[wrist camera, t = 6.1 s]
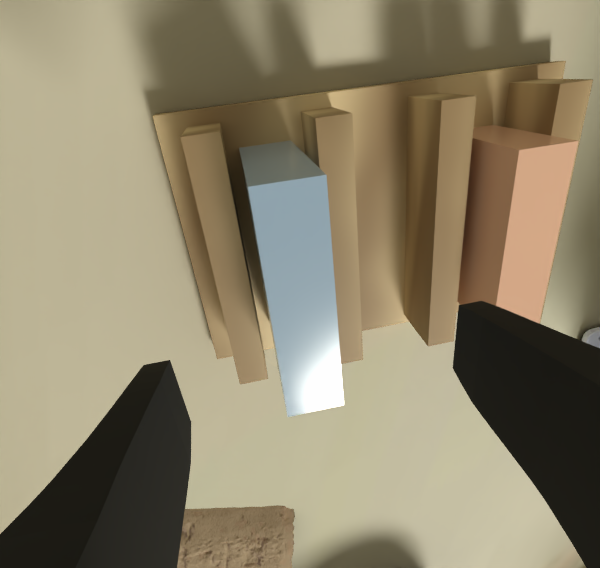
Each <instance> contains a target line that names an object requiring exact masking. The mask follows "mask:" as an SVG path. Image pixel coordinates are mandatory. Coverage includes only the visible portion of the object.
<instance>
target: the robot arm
mask: <svg viewBox="0 0 600 568" xmlns="http://www.w3.org/2000/svg"><path fill="white" fill-rule="evenodd" d="M453 369H454V371H455V373H456V375H457V377H458V378H459V380H460V382H461V384H462V386H463V387H464V389H465V391H466V393H467V394H468V396H469V398H470V399H471V401H472V403H473V404H474V405H475V407H476V408H477V409H478V411H479V412H480V414H481V415H482V416H483V418H484V419H485V420H486V422H487V423H488V424H489V426H490V427H491V428H492V430H493V431H494V432H495V433H496V435H497V436H498V437H499V439H500V440H501V441H502V443H503V444H504V445H505V447H506V448H507V449H508V451H509V452H510V453H511V454H512V456H513V457H514V458H515V460H516V461H517V462H518V464H519V465H520V466H521V468H522V469H523V470H524V471H525V473H526V474H527V475H528V477H529V478H530V479H531V481H532V482H533V484H534V485H535V486H536V488H537V489H538V491H539V492H540V493H541V495H542V496H543V498H544V499H545V501H546V502H547V504H548V505H549V507H550V509H551V510H552V512H553V513H554V515H555V517H556V518H557V520H558V521H559V523H560V525H561V526H562V528H563V529H564V531H565V533H566V534H567V536H568V537H569V539H570V541H571V542H572V544H573V545H574V547H575V549H576V551H577V552H578V554H579V556H580V557H581V559H582V561H583V562H584V564H585V566H586V567H587V568H600V327H598V328H593V329H590V330H588V331H586V332H585V333H584V335H583V338H582V341H580V340H577V339H575V338H573V337H570V336H568V335H565V334H563V333H560V332H558V331H556V330H553V329H551V328H548V327H546V326H544V325H541V324H539V323H537V322H534V321H532V320H529V319H527V318H525V317H522V316H520V315H518V314H515V313H513V312H510V311H508V310H506V309H503V308H501V307H498V306H495V305H493V304H490V303H487V302H484V301H477V302H472V303H467V304H462V305H459V308H458V319H457V330H456V340H455V351H454V361H453ZM190 464H191V421H190V418H189V415H188V412H187V409H186V406H185V403H184V400H183V397H182V394H181V391H180V388H179V385H178V382H177V379H176V376H175V374H174V371H173V368H172V365H171V362H170V360H168V361H163V362H158V363H153V364H147V365H144V366H143V367H142V368H141V369H140V371H139V372H138V373H137V375H136V376H135V377H134V378H133V380H132V381H131V382H130V384H129V385H128V386H127V388H126V389H125V390H124V392H123V393H122V394H121V396H120V397H119V398H118V400H117V401H116V402H115V404H114V405H113V406H112V408H111V409H110V410H109V412H108V413H107V414H106V416H105V417H104V418H103V419H102V421H101V422H100V423H99V425H98V426H97V427H96V428H95V430H94V431H93V432H92V433H91V435H90V436H89V437H88V439H87V440H86V441H85V442H84V443H83V444H82V446H81V447H80V448H79V449H78V450H77V452H76V453H75V454H74V455H73V456H72V457H71V459H70V460H69V461H68V462H67V463H66V464H65V466H64V467H63V468H62V469H61V470H60V472H59V473H58V474H57V475H56V476H55V477H54V479H53V480H52V481H51V482H50V483H49V484H48V485H47V486H46V487H45V489H44V490H43V491H42V492H41V493H40V494H39V495H38V496H37V497H36V498H35V499H34V500H33V501H32V502H31V504H30V505H29V506H28V507H27V508H26V509H25V510H24V511H23V512H22V513H21V514H20V515H19V516H18V517H17V518H16V519H15V520H14V521H13V522H12V523H11V524H10V525H9V526H8V527H7V528H6V529H5V530H4V531H3V532H2V533H1V534H0V568H177V564H178V557H179V549H180V542H181V534H182V526H183V519H184V511H185V504H186V496H187V488H188V481H189V473H190Z"/></svg>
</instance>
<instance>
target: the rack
mask: <svg viewBox="0 0 600 568" xmlns="http://www.w3.org/2000/svg"><path fill="white" fill-rule="evenodd" d="M565 63H566V61H555V62H545V63H537V64H530V65H522V66H515V67H507V68H500V69H492V70H484V71H477V72H469V73H462V74H454V75H447V76H439V77H432V78H424V79H417V80H409V81H402V82H394V83H387V84H379V85H372V86H364V87H357V88H349V89H342V90H334V91H327V92H319V93H312V94H304V95H296V96H289V97H281V98H274V99H266V100H259V101H251V102H244V103H236V104H229V105H221V106H214V107H206V108H199V109H191V110H184V111H176V112H169V113H161V114H155V115H154V116H153V120H154V124H155V128H156V131H157V135H158V139H159V143H160V146H161V150H162V154H163V158H164V161H165V165H166V169H167V173H168V176H169V180H170V184H171V188H172V191H173V195H174V199H175V203H176V206H177V210H178V214H179V218H180V221H181V225H182V229H183V233H184V236H185V240H186V244H187V248H188V251H189V255H190V259H191V263H192V266H193V270H194V274H195V278H196V281H197V285H198V289H199V293H200V296H201V300H202V304H203V308H204V311H205V315H206V319H207V322H208V326H209V330H210V334H211V337H212V341H213V345H214V349H215V352H216V356H217V359H220V358H225V357H230V356H233V357H234V361H235V365H236V369H237V374H238V378H239V382H240V384H245V383H250V382H255V381H260V380H264V379H268V375H267V368H266V362H265V355H264V350H266V349H271V348H274V343H273V337H272V332H271V327H270V322H269V316H268V310H267V305H266V299H265V293H264V288H263V282H262V276H261V271H260V265H259V259H258V254H257V248H256V242H255V237H254V231H253V225H252V220H251V214H250V208H249V203H248V197H247V191H246V186H245V180H244V174H243V168H242V163H241V157H240V151H239V148H241V147H248V146H255V145H262V144H269V143H276V142H283V141H290V140H291V141H292V142H293V143H294V144H295V145H296V146H297V147H298V148H299V149H300V150H301V151H302V152H303V153H304V154H305V155H306V156H308V157H309V158H310V159H311V160H312V161H313V162H314V163H315V164H316V165H317V166H318V167H319V168H320V169H321V170H322V171H323V172H324V173H325V174H326V175H327V188H328V201H329V214H330V227H331V240H332V253H333V266H334V279H335V292H336V305H337V318H338V331H339V344H340V357H341V364H343V363H348V362H353V361H358V360H363V347H362V331H363V330H369V329H374V328H379V327H384V326H389V325H394V324H399V323H404V322H410V323H411V324H412V326H413V327H414V328H415V330H416V331H417V332H418V334H419V335H420V336H421V338H422V339H423V340H424V342H425V343H426V344H427V345H428V346H432V345H437V344H442V343H447V342H452V341H454V331H455V321H456V312H458V308H459V305H460V304H459V303H458V302H457V299H458V288H459V278H460V267H461V256H462V246H463V235H464V224H465V214H466V203H467V192H468V181H469V171H470V160H471V149H472V139H473V128H475V127H482V126H489V125H496V126H502V127H507V128H513V129H518V130H523V131H529V132H534V133H539V134H545V135H550V136H555V137H561V138H566V139H571V140H577V141H578V146H579V142H580V137H581V132H582V128H583V123H584V119H585V114H586V109H587V105H588V100H589V96H590V91H591V86H592V82H593V80H585V79H563V73H564V68H565ZM578 146H577V151H578ZM577 151H576V155H575V160H576V156H577ZM575 160H574V165H575ZM574 165H573V169H574ZM573 169H572V174H573ZM572 174H571V179H572ZM571 179H570V183H571ZM570 183H569V188H570ZM569 188H568V192H569ZM568 192H567V197H568ZM567 197H566V202H567ZM566 202H565V206H566ZM565 206H564V211H565ZM564 211H563V215H564ZM562 220H563V216H562ZM562 220H561V225H562ZM561 225H560V229H561ZM559 234H560V230H559ZM559 234H558V238H559ZM557 243H558V239H557ZM557 243H556V248H557ZM556 248H555V252H556ZM554 257H555V253H554ZM554 257H553V262H554ZM553 262H552V266H553ZM551 271H552V267H551ZM551 271H550V275H551ZM549 280H550V276H549ZM548 285H549V281H548ZM548 285H547V289H548ZM546 294H547V290H546ZM546 294H545V298H546ZM544 303H545V299H544ZM543 308H544V304H543ZM543 308H542V312H543ZM541 317H542V313H541ZM540 321H541V318H540ZM539 324H540V322H539Z"/></svg>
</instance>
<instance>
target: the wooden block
mask: <svg viewBox="0 0 600 568" xmlns="http://www.w3.org/2000/svg"><path fill="white" fill-rule="evenodd" d="M577 146H578V141H577V140H571V139H566V138H561V137H555V136H550V135H545V134H539V133H534V132H529V131H523V130H518V129H513V128H507V127H502V126H496V125H489V126H482V127H475V128H473V139H472V149H471V160H470V171H469V181H468V192H467V203H466V214H465V224H464V235H463V246H462V256H461V267H460V278H459V288H458V299H457V302H458V303H459V304H460V305H462V304H467V303H472V302H477V301H484V302H487V303H490V304H493V305H495V306H498V307H501V308H503V309H506V310H508V311H510V312H513V313H515V314H518V315H520V316H522V317H525V318H527V319H529V320H532V321H534V322H537V323H539V322H540V318H541V313H542V308H543V304H544V299H545V294H546V290H547V285H548V281H549V276H550V271H551V267H552V262H553V257H554V253H555V248H556V243H557V239H558V234H559V230H560V225H561V220H562V216H563V211H564V206H565V202H566V197H567V192H568V188H569V183H570V179H571V174H572V169H573V165H574V160H575V155H576V151H577Z"/></svg>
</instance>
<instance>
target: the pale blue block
mask: <svg viewBox="0 0 600 568" xmlns="http://www.w3.org/2000/svg"><path fill="white" fill-rule="evenodd" d="M239 151H240V157H241V163H242V168H243V174H244V180H245V186H246V191H247V197H248V203H249V208H250V214H251V220H252V225H253V231H254V237H255V242H256V248H257V254H258V259H259V265H260V271H261V276H262V282H263V288H264V293H265V299H266V305H267V310H268V316H269V322H270V327H271V332H272V337H273V343H274V348H275V353H276V358H277V364H278V369H279V374H280V379H281V384H282V390H283V395H284V400H285V405H286V411H287V416H288V417H290V416H295V415H300V414H305V413H309V412H314V411H319V410H323V409H328V408H333V407H337V406H342V405H344V396H343V383H342V370H341V357H340V344H339V331H338V318H337V305H336V292H335V279H334V266H333V253H332V240H331V227H330V214H329V201H328V188H327V175H326V174H325V173H324V172H323V171H322V170H321V169H320V168H319V167H318V166H317V165H316V164H315V163H314V162H313V161H312V160H311V159H310V158H309V157H308V156H306V155H305V154H304V153H303V152H302V151H301V150H300V149H299V148H298V147H297V146H296V145H295V144H294V143H293V142H292V141H291V140H290V141H283V142H276V143H269V144H262V145H255V146H248V147H241V148H239Z"/></svg>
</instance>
